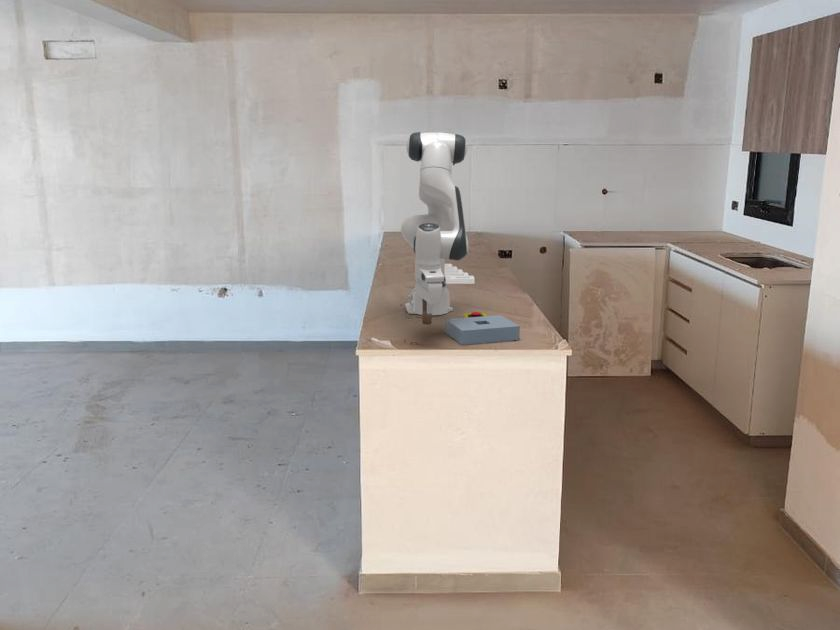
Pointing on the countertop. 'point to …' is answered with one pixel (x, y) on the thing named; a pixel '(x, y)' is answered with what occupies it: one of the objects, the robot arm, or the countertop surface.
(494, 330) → the socket block
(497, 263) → the countertop surface
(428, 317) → the peg
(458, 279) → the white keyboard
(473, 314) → the emergency button
